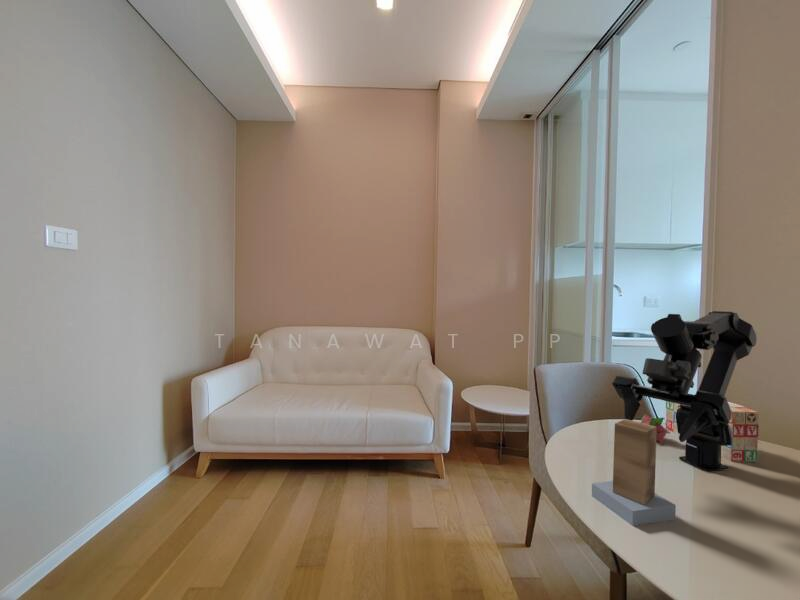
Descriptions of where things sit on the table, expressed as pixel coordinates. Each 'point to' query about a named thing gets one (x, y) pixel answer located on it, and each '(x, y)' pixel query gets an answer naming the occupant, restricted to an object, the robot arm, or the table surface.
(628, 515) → the slate base block
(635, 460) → the walnut block
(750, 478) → the table surface
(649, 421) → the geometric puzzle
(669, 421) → the stack of blocks
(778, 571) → the table surface
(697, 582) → the table surface
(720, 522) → the table surface
